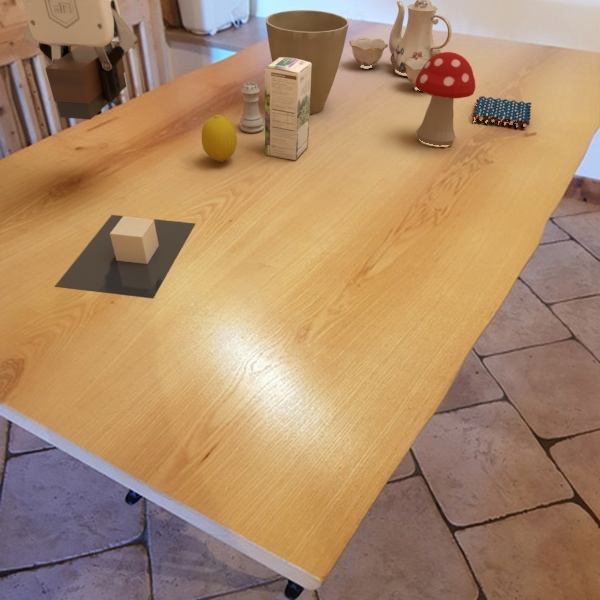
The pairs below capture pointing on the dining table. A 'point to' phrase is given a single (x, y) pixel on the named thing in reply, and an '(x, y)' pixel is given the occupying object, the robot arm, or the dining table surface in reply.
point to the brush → (80, 83)
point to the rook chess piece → (251, 109)
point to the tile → (125, 275)
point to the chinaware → (405, 40)
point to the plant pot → (310, 46)
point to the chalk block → (134, 239)
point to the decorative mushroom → (443, 95)
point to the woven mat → (502, 110)
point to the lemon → (219, 138)
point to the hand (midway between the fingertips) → (94, 95)
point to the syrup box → (287, 107)
